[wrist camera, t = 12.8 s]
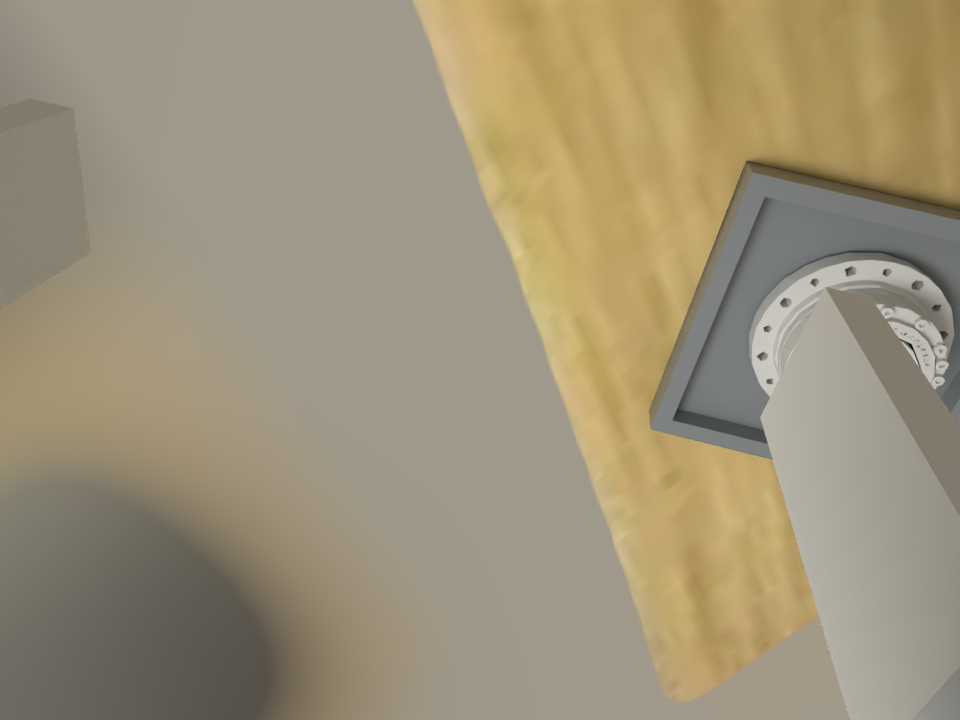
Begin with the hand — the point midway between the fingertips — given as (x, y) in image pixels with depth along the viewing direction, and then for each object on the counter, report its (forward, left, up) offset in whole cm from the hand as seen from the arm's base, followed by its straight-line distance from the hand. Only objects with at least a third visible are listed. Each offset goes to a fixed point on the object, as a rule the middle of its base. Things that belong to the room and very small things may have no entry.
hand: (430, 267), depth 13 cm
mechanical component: (+11, +19, -26) cm, 34 cm away
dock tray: (+11, +19, -27) cm, 35 cm away
